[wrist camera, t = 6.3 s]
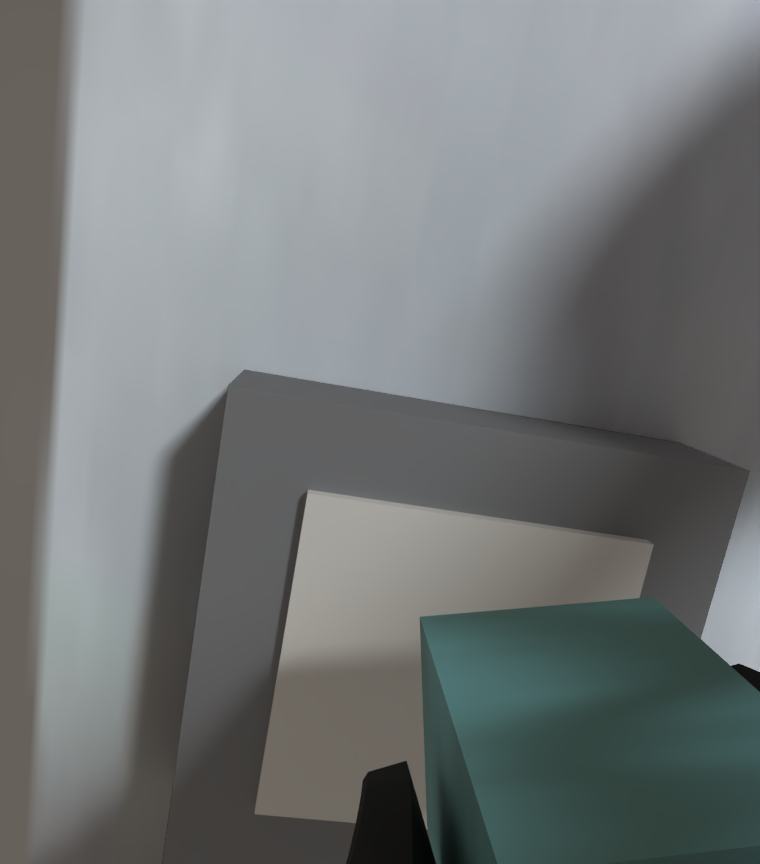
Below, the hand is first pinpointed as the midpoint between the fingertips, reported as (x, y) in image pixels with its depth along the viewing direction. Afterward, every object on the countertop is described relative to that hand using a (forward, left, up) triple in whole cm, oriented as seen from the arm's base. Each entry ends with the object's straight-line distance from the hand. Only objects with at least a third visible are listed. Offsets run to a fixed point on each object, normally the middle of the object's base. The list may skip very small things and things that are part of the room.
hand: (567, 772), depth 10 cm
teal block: (0, 0, -1) cm, 1 cm away
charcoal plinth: (0, +2, -9) cm, 9 cm away
